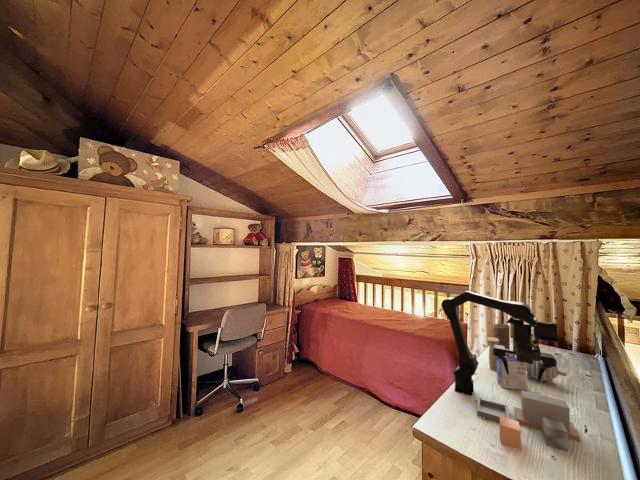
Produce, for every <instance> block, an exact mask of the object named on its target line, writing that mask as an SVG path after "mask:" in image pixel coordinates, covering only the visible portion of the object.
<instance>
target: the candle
mask: <svg viewBox="0 0 640 480" xmlns="http://www.w3.org/2000/svg"><path fill="white" fill-rule="evenodd" d="M492 328H493V336H492V337H494V338H498V339H499V344H497V345H501V346H504V347H505V349H508V350H511V349H510V347H511V346H510V344H511V343H510V337H511V336H510V325H509V324H508V323H494V324H493V327H492Z"/></svg>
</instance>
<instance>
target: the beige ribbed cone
mask: <svg viewBox="0 0 640 480" xmlns="http://www.w3.org/2000/svg"><path fill="white" fill-rule="evenodd" d="M537 370H538V361H534V363H533V364H529V363H526V379H528V380H531V377H532V378H536V379H537ZM558 376H562V377H563V376H564V377H566V376H567V373H566V372H564V371H560V370H559V369H558V367H552V368H547V369H546V370H545V371H544V373H543V375H542V377H541V379H540V381H543V382H547V384H548V385H549V386H553V385H552V384H553V382H554V379H557V377H558Z"/></svg>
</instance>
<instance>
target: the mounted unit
mask: <svg viewBox="0 0 640 480" xmlns="http://www.w3.org/2000/svg"><path fill="white" fill-rule="evenodd" d="M520 393H521V394H520V399H521V401H520V402H521V404H520V407H521V408H519V407H515V406H514V407H513V409H514V411H513V412H514V415H515V421H519V425H521V426H525V427H528V428H531V429H535V430H538V431H541V432H543V424H542V417H545V418H549V419H552V420H556V421H560V422H563V424H564V426H565V428H566V430H567V435H568V439H569V440H572V441H576V442H579V443H581V436H580V434H579V432H578V431H577V429H576V427H575V425H574V423H573V422H572V421H571V419H570V418H571V416H570V411H571V410H570V406H569V405H568V403H567V402H566V400H564V399H560V398H555V397H551V396H547V395H543V394H538V393H535V392H530V391H527V390H520Z"/></svg>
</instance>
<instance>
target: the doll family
mask: <svg viewBox="0 0 640 480" xmlns="http://www.w3.org/2000/svg"><path fill="white" fill-rule="evenodd" d="M532 349H533V350H539V351H540V352H541V349H540V340H539V339H538V338H536V336H534V333H532Z"/></svg>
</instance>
